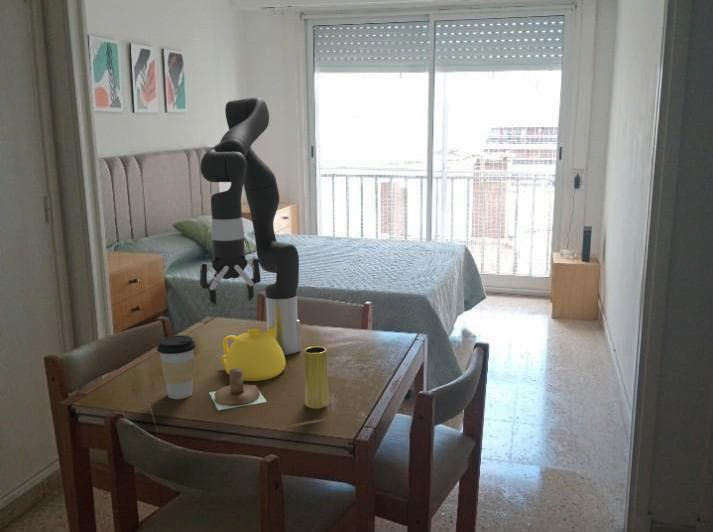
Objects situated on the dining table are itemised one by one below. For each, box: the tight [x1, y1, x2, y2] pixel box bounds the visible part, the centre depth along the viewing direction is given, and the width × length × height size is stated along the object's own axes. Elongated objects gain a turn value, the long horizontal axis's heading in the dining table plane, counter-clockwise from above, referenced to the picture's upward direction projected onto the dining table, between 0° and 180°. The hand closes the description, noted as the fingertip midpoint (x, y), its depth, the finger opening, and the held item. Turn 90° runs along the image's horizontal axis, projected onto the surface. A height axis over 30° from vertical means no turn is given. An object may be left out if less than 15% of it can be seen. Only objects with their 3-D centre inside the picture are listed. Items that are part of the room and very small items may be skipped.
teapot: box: [220, 327, 286, 382], centre depth 190 cm, size 20×19×13 cm
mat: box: [208, 384, 268, 411], centre depth 172 cm, size 12×12×1 cm
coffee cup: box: [156, 335, 197, 400], centre depth 173 cm, size 9×9×15 cm
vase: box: [303, 345, 330, 409], centre depth 165 cm, size 6×6×14 cm
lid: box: [215, 368, 260, 406], centre depth 171 cm, size 11×11×7 cm
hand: (231, 302), depth 166 cm, fingers open, 8 cm apart
